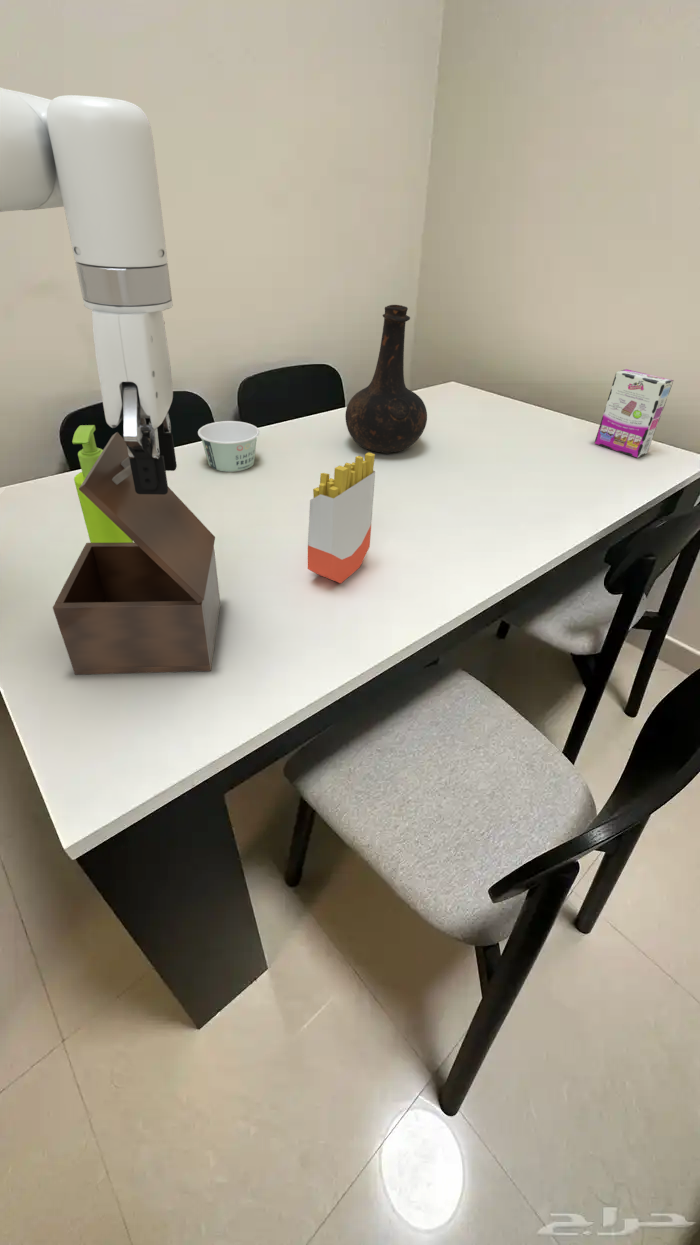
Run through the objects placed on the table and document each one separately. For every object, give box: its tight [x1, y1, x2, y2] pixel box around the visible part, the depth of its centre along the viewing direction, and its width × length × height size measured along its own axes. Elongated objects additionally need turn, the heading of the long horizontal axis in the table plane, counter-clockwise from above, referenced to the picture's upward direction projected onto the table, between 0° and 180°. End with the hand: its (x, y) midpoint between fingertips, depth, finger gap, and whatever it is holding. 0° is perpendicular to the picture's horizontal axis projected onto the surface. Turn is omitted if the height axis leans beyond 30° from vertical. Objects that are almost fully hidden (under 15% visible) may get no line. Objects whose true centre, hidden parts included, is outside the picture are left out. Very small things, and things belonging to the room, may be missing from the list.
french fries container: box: [307, 451, 376, 584], centre depth 83 cm, size 5×11×18 cm, turn 148°
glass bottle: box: [345, 304, 428, 454], centre depth 122 cm, size 18×18×28 cm
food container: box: [197, 420, 260, 473], centre depth 117 cm, size 12×12×6 cm
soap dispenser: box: [71, 424, 134, 543], centre depth 83 cm, size 6×7×20 cm
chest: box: [52, 542, 221, 675], centre depth 72 cm, size 16×14×10 cm
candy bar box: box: [594, 368, 675, 459], centre depth 131 cm, size 11×5×16 cm, turn 42°
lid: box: [79, 431, 216, 603], centre depth 64 cm, size 17×14×5 cm
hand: (157, 479), depth 62 cm, fingers closed on lid, 5 cm apart
